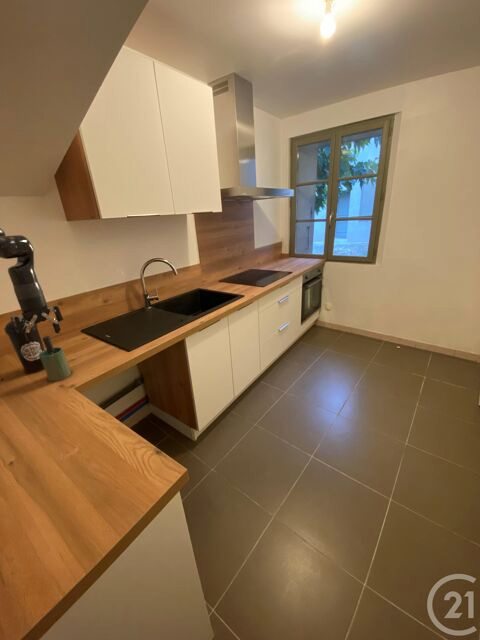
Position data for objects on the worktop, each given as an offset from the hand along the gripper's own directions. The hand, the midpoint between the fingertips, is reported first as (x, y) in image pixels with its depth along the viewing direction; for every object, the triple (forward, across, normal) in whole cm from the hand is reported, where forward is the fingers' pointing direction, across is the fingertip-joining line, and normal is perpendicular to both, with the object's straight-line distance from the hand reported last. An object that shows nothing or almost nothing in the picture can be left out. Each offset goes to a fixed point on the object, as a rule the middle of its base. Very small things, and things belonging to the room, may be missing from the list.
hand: (45, 337), depth 97 cm
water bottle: (+18, +2, -16) cm, 24 cm away
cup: (+17, 0, 0) cm, 17 cm away
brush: (+16, 0, 0) cm, 16 cm away
